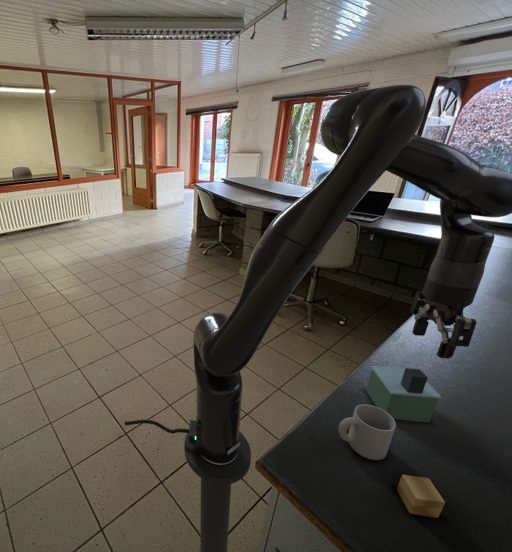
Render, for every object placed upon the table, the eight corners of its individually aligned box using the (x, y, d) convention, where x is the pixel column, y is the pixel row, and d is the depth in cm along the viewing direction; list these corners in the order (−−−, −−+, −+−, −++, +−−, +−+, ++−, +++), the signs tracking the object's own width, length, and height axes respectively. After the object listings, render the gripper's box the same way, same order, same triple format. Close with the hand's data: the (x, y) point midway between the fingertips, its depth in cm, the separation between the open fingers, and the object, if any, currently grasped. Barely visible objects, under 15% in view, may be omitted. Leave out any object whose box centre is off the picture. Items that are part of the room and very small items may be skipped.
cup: (393, 463, 63) (404, 433, 60) (341, 457, 65) (349, 427, 62) (375, 434, 70) (384, 405, 67) (329, 430, 72) (335, 401, 69)
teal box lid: (391, 394, 71) (396, 376, 69) (370, 367, 80) (375, 350, 78) (440, 398, 69) (447, 380, 67) (414, 370, 78) (419, 353, 76)
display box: (384, 418, 74) (391, 394, 71) (366, 390, 83) (371, 368, 80) (429, 422, 72) (438, 399, 69) (405, 394, 81) (413, 371, 78)
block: (409, 513, 55) (416, 498, 53) (396, 489, 59) (402, 474, 57) (438, 518, 54) (445, 502, 52) (422, 493, 58) (428, 478, 56)
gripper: (410, 266, 67) (393, 327, 73) (456, 293, 55) (431, 364, 60) (449, 266, 66) (428, 329, 72) (507, 294, 53) (476, 367, 59)
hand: (430, 345), depth 66 cm, fingers open, 8 cm apart
